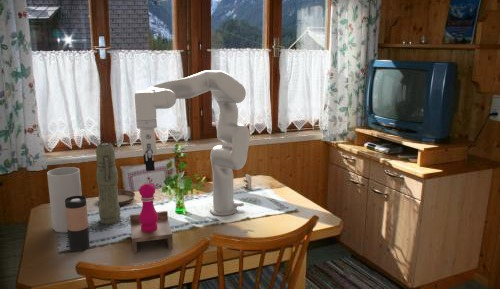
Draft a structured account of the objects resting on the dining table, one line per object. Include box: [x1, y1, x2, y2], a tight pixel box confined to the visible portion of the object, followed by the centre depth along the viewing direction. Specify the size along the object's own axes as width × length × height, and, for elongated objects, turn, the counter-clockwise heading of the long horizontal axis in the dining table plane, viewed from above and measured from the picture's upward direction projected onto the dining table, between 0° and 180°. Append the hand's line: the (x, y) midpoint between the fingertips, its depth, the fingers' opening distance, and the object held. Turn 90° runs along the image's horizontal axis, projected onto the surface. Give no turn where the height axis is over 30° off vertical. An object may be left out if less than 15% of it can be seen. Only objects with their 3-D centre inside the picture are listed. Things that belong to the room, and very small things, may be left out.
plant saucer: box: [98, 189, 136, 206], centre depth 223 cm, size 18×18×3 cm
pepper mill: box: [139, 179, 158, 232], centre depth 174 cm, size 7×7×20 cm
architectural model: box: [239, 173, 252, 190], centre depth 243 cm, size 3×7×7 cm, turn 30°
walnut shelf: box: [129, 210, 174, 254], centre depth 177 cm, size 15×17×9 cm
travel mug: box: [65, 195, 91, 253], centre depth 171 cm, size 8×8×20 cm
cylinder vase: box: [46, 166, 83, 234], centre depth 189 cm, size 12×12×25 cm
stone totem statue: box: [95, 142, 121, 225], centre depth 195 cm, size 9×12×35 cm
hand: (149, 167), depth 173 cm, fingers open, 9 cm apart
